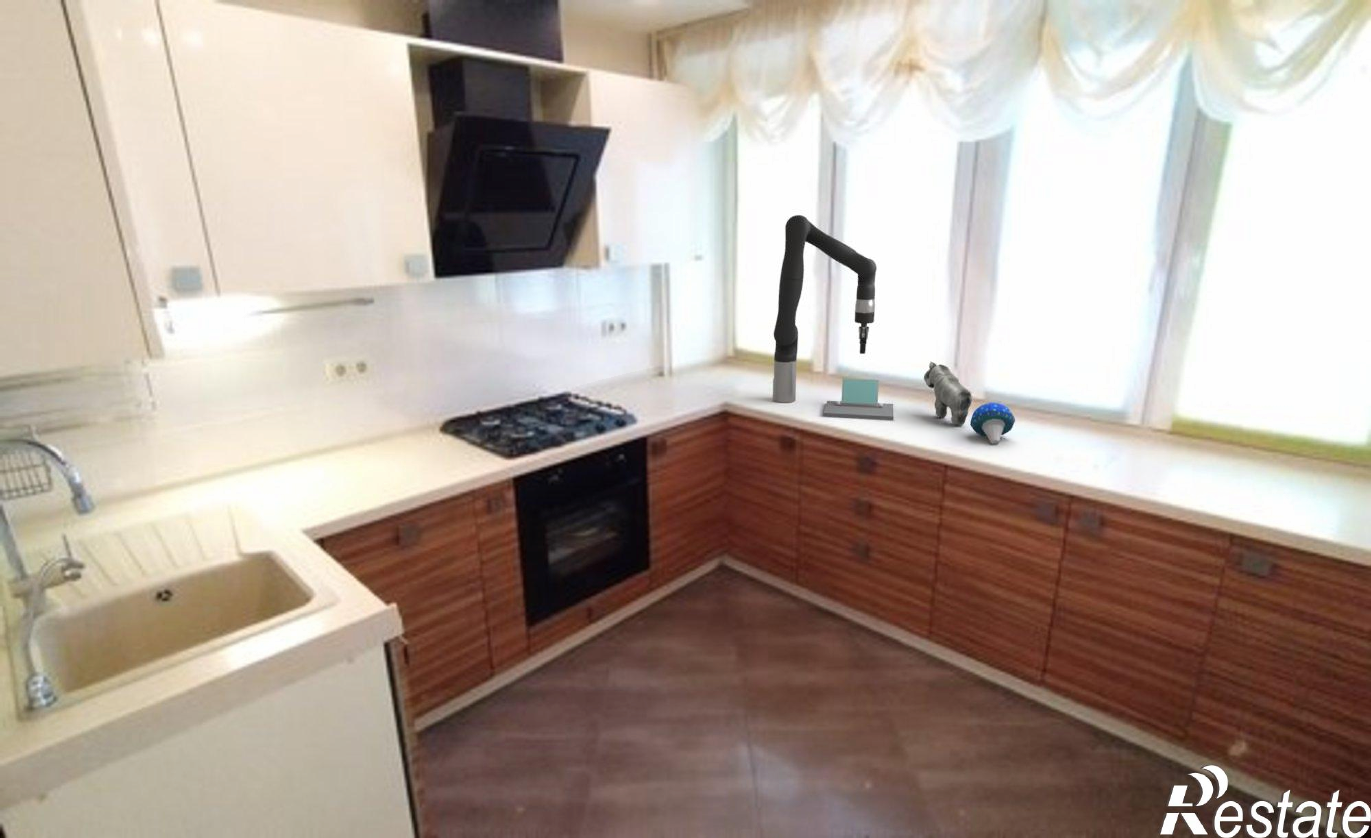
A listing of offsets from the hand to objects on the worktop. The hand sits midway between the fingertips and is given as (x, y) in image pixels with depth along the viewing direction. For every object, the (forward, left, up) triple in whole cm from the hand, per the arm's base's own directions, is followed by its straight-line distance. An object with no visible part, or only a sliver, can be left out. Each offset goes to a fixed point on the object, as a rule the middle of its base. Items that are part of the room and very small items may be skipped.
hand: (862, 353), depth 269 cm
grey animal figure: (+31, -16, -21) cm, 41 cm away
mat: (0, -13, -21) cm, 25 cm away
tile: (0, -8, -14) cm, 16 cm away
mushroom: (+45, -37, -21) cm, 62 cm away
